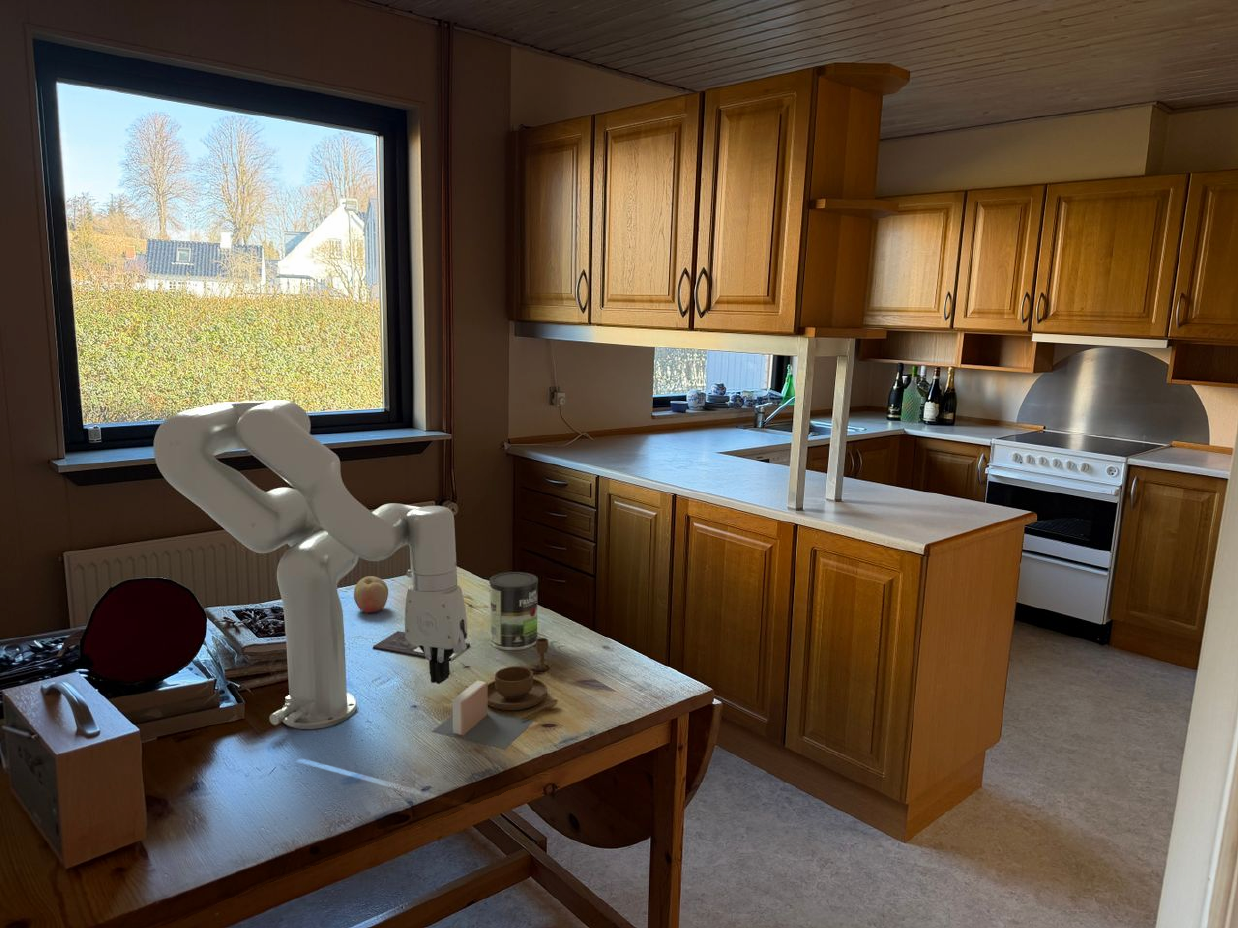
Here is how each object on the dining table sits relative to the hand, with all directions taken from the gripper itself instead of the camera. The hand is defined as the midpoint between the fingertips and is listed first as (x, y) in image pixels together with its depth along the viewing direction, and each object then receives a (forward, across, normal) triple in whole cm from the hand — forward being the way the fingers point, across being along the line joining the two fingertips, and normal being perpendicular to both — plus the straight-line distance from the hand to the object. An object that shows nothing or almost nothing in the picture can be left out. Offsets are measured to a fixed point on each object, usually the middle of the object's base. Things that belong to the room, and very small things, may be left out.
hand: (440, 679), depth 144 cm
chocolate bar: (+8, -21, +24) cm, 33 cm away
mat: (+8, +8, 0) cm, 11 cm away
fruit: (+7, -44, +37) cm, 58 cm away
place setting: (+8, +10, +15) cm, 19 cm away
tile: (+7, +6, 0) cm, 9 cm away
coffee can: (+8, -5, +35) cm, 36 cm away
